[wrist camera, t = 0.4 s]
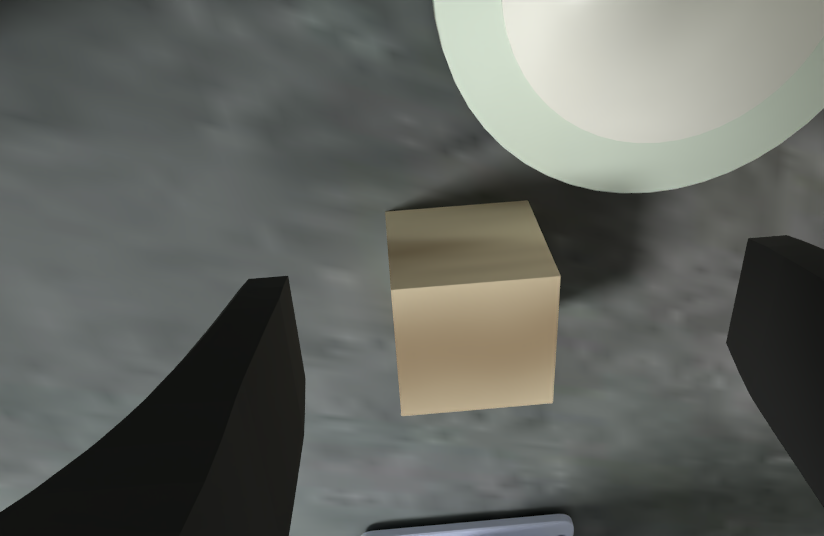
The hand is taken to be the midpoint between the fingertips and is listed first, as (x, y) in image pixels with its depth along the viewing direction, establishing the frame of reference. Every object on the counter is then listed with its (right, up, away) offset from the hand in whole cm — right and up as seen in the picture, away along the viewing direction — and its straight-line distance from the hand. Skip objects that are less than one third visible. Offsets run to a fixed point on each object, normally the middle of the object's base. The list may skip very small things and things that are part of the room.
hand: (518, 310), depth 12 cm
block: (0, +1, +10) cm, 10 cm away
